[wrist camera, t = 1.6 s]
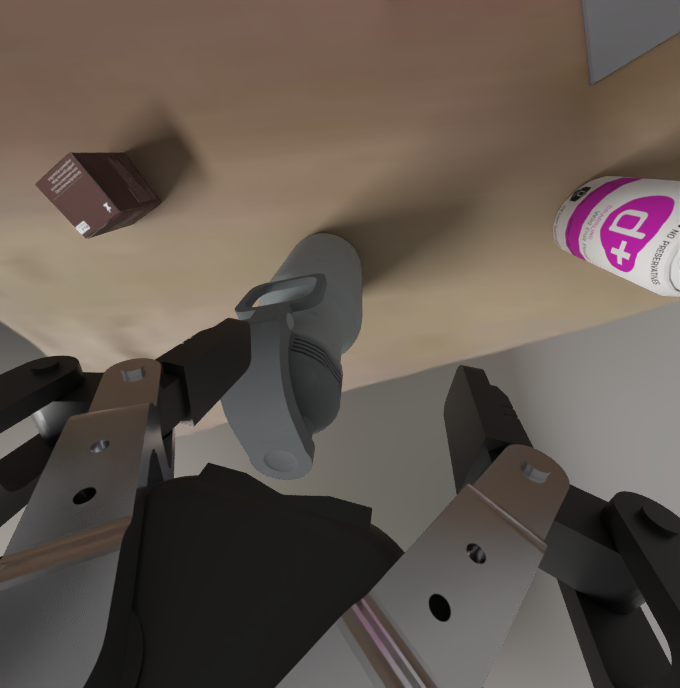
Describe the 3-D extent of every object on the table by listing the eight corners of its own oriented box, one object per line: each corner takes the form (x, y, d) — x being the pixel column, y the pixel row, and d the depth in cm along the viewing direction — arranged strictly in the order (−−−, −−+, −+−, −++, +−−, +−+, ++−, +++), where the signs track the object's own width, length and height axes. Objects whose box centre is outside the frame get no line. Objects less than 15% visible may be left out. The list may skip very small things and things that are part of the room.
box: (124, 151, 33) (69, 149, 26) (163, 203, 35) (122, 213, 29) (90, 178, 34) (32, 183, 28) (130, 226, 37) (85, 240, 31)
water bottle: (279, 237, 37) (133, 378, 13) (353, 220, 35) (338, 348, 12) (301, 307, 42) (226, 497, 19) (367, 296, 40) (375, 488, 17)
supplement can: (535, 244, 35) (631, 292, 23) (579, 167, 31) (729, 174, 18) (596, 258, 36) (724, 313, 23) (648, 184, 31) (842, 203, 19)
